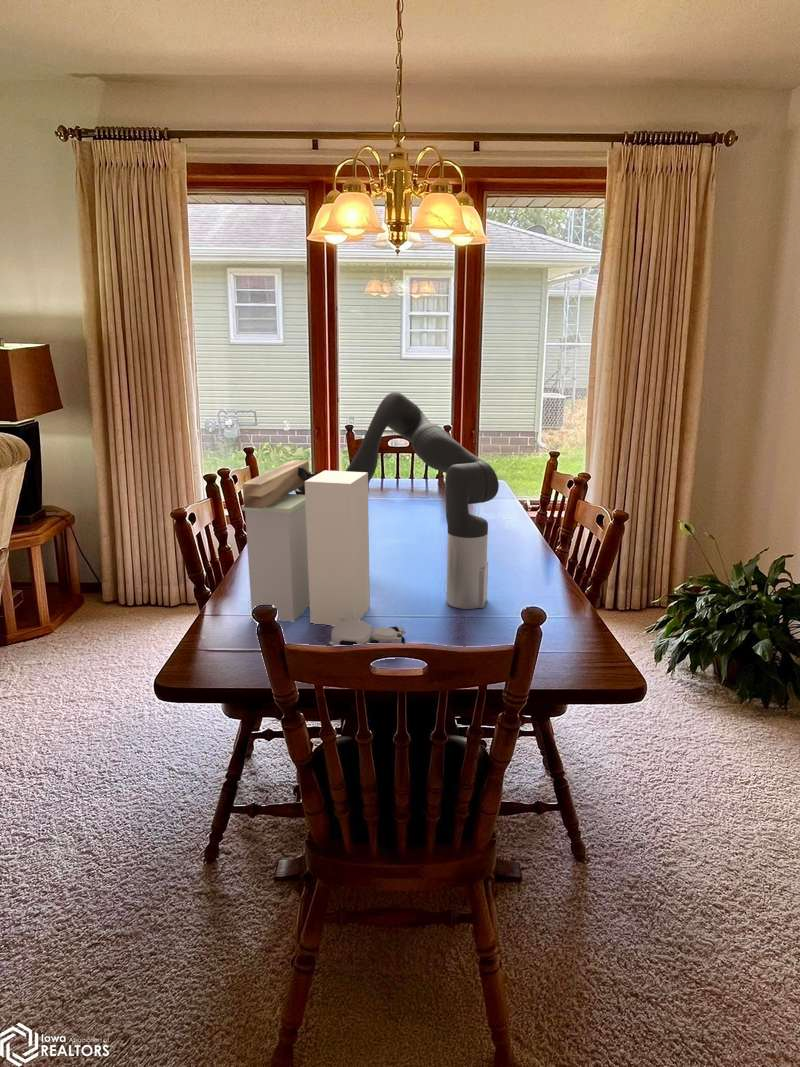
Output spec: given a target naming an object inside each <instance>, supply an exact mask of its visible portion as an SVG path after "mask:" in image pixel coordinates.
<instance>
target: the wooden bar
mask: <svg viewBox="0 0 800 1067" xmlns="http://www.w3.org/2000/svg"><path fill="white" fill-rule="evenodd" d="M309 464H310V461H309V460H300V459H299V460H296V459H291V460H290V461H288V462H285V463H283V464H281V465H279V466H277V467H275V468H273V469H271V470H268V471H266V472H264V473H262V474H260V475H257V476H255V477H254V478H252V479H250V480H247V481H244V482H243V483H242V496H243V505H244V507H246V508H261V509H262V508H264V507H266V506H267V505H269V504H271V503H273V502H275V501H276V500H278V499H280V498H282V497H283V496H285V495H287V494H291V493H292V492H295V490H296V489H297V488H299V487H301V486H303V485H304V484H305V480H302V479H301V478H300V477H299V476H298V468H299V467H303V468H304V469H305V470H306V471H310V466H309Z"/></svg>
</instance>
